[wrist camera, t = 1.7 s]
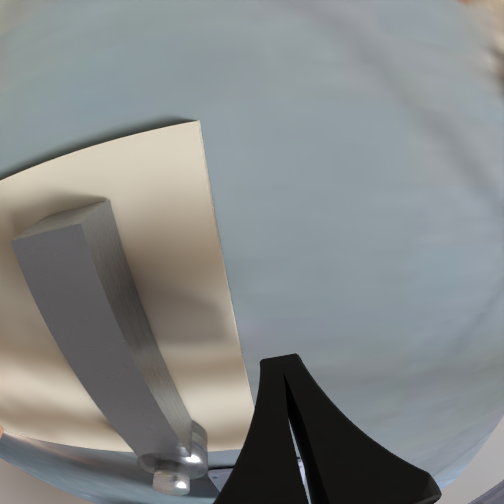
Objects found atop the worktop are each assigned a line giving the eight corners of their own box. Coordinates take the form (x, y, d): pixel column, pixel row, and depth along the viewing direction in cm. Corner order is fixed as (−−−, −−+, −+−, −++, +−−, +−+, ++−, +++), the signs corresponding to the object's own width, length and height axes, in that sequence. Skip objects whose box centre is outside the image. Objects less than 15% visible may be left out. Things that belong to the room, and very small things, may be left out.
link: (214, 446, 16) (215, 499, 13) (156, 448, 16) (151, 498, 13) (122, 196, 10) (72, 241, 6) (36, 218, 10) (-25, 264, 6)
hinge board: (260, 434, 18) (261, 446, 17) (5, 422, 17) (2, 430, 16) (199, 120, 10) (197, 120, 9) (-101, 238, 9) (-108, 243, 8)
